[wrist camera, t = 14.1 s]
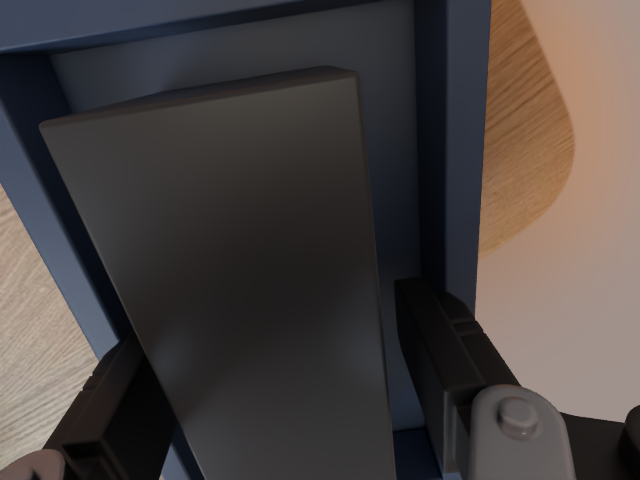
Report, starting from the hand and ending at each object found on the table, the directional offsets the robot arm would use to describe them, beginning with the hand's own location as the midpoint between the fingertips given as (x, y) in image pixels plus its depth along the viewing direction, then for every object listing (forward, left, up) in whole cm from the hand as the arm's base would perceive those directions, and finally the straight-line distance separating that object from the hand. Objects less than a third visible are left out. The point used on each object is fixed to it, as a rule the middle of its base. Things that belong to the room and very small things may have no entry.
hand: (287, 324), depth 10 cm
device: (0, 0, -2) cm, 2 cm away
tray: (0, 0, -2) cm, 2 cm away
